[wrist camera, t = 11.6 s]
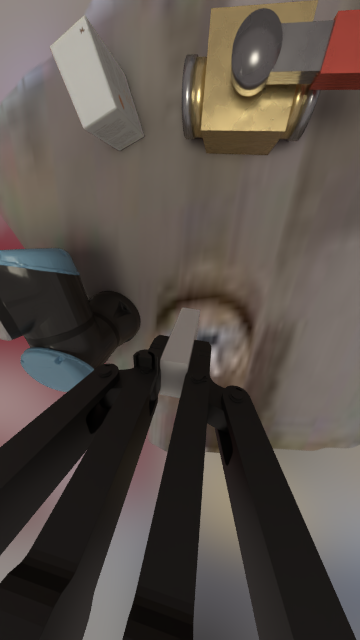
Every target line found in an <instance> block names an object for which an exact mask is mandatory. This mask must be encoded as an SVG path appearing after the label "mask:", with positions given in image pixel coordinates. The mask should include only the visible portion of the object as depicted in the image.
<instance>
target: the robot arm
mask: <svg viewBox="0 0 360 640" xmlns="http://www.w3.org/2000/svg"><path fill="white" fill-rule="evenodd" d="M79 275H80V274H79V272H78V271H77V269H76V267H75V265H74V263H73V260H72V258H71V256H70V255H69V253H68V252H66V251H65V250H63V249H59V248H41V249H15V250H0V339H3V340H8V341H9V340H13V339H15V338H18V337H20V336H24V337H25V339H26V340H27V342H28V344H29V346H30V348H28V349H27V350H25V351H24V354H22V356H21V365H22V367H23V368H24V370H25V371H26V372H27V373H28V374H29V375H30V376H31V377H32V378H34V379H35V380H36V381H38V382H39V383H41V384H43V385H45V386H47V387H49V388H52V389H55V390H59V391H63V392H67V393H66V394H64V395H63V396H62V397H61V398H60V399H58V400H57V401H56V402H55V403H54V404H52V405H51V406H50V407H49V408H47V409H46V410H45V411H44V412H43V413H41V414H40V415H39V416H38V417H37V418H35V419H34V420H33V421H32V422H30V423H29V424H28V425H27V426H26V427H25V428H23V429H22V430H21V431H20V432H18V433H17V434H16V435H15V436H13V437H12V438H11V439H10V440H9V441H7V442H6V443H5V444H4V445H3V446H1V447H0V555H1V554H2V553H3V551H4V550H5V549H6V548H7V547H8V545H9V544H10V543H11V542H12V541H13V539H14V538H15V537H16V536H17V534H18V533H19V532H20V531H21V530H22V528H23V527H24V526H25V525H26V523H27V522H28V521H29V520H30V519H31V517H32V516H33V515H34V514H35V512H36V511H37V510H38V509H39V508H40V506H41V505H42V504H43V503H44V502H45V500H46V499H47V498H48V497H49V495H50V494H51V493H52V492H53V490H54V489H55V488H56V487H57V486H58V484H59V483H60V482H61V481H62V480H63V478H64V477H65V476H66V475H67V474H68V472H69V471H70V470H71V469H72V467H73V466H74V465H75V464H76V463H77V461H78V460H79V459H80V458H81V456H82V455H83V454H84V453H85V452H86V453H85V455H84V456H83V458H82V460H81V462H80V464H79V465H78V467H77V469H76V470H75V472H74V474H73V476H72V478H71V479H70V481H69V483H68V484H67V486H66V488H65V490H64V492H63V493H62V495H61V497H60V499H59V500H58V502H57V504H56V505H55V507H54V509H53V511H52V513H51V514H50V516H49V518H48V520H47V521H46V523H45V525H44V527H43V528H42V530H41V532H40V534H39V535H38V537H37V539H36V541H35V542H34V544H33V546H32V548H31V549H30V551H29V553H28V554H27V556H26V557H25V558H24V559H23V561H22V562H21V563H20V564H19V565H17V566H16V567H15V568H14V569H13V570H12V571H11V572H9V573H8V574H7V576H6V577H5V578H4V579H3V580H2V582H1V583H0V640H82V639H83V636H84V633H85V630H86V626H87V623H88V619H89V615H90V611H91V606H92V600H93V595H94V591H95V588H96V585H97V581H98V579H99V576H100V573H101V570H102V567H103V564H104V561H105V558H106V555H107V552H108V549H109V546H110V542H111V540H112V537H113V534H114V531H115V528H116V525H117V522H118V519H119V516H120V513H121V510H122V507H123V504H124V501H125V498H126V495H127V492H128V489H129V486H130V483H131V480H132V477H133V474H134V471H135V468H136V465H137V462H138V459H139V456H140V453H141V450H142V447H143V444H144V441H145V438H146V435H147V432H148V430H149V427H150V424H151V421H152V418H153V415H154V412H155V409H156V406H157V403H158V394H159V391H160V394H161V395H166V396H171V397H176V398H180V400H179V405H178V409H177V413H176V418H175V422H174V427H173V431H172V436H171V440H170V444H169V449H168V453H167V458H166V462H165V466H164V471H163V475H162V480H161V484H160V488H159V493H158V498H157V502H156V506H155V510H154V515H153V519H152V524H151V528H150V533H149V537H148V541H147V546H146V550H145V555H144V560H143V563H142V568H141V572H140V577H139V581H138V585H137V590H136V594H135V598H134V601H133V605H132V608H131V611H130V614H129V617H128V621H127V625H126V628H125V632H124V636H123V640H193V617H194V600H195V586H196V570H197V557H198V543H199V528H200V514H201V500H202V485H203V471H204V456H205V442H206V428H207V423H208V424H210V425H211V426H213V427H215V432H216V436H217V441H218V446H219V451H220V455H221V460H222V465H223V470H224V474H225V479H226V483H227V489H228V493H229V498H230V503H231V508H232V512H233V517H234V522H235V526H236V531H237V536H238V541H239V545H240V550H241V555H242V560H243V564H244V569H245V574H246V579H247V583H248V588H249V593H250V598H251V602H252V606H253V612H254V617H255V621H256V626H257V631H258V635H259V640H356V638H355V636H354V633H353V631H352V629H351V627H350V624H349V622H348V620H347V617H346V615H345V613H344V611H343V608H342V606H341V604H340V601H339V599H338V597H337V595H336V592H335V590H334V588H333V585H332V583H331V581H330V579H329V577H328V574H327V572H326V569H325V567H324V565H323V563H322V560H321V558H320V556H319V553H318V551H317V549H316V547H315V544H314V542H313V540H312V538H311V535H310V533H309V531H308V529H307V526H306V524H305V522H304V519H303V517H302V515H301V513H300V510H299V508H298V506H297V504H296V501H295V499H294V496H293V494H292V492H291V490H290V487H289V486H288V483H287V480H286V478H285V476H284V474H283V472H282V469H281V467H280V465H279V462H278V460H277V458H276V455H275V453H274V451H273V448H272V446H271V444H270V442H269V439H268V437H267V435H266V433H265V430H264V428H263V426H262V423H261V421H260V419H259V417H258V414H257V412H256V410H255V407H254V405H253V403H252V401H251V398H250V396H249V395H248V393H247V392H246V391H245V390H244V389H242V388H240V387H238V386H227V387H226V388H223V387H221V386H219V385H217V384H215V383H214V382H213V381H212V379H211V378H210V359H211V345H210V344H209V342H205V341H199V340H196V339H197V332H198V323H199V315H200V310H197V309H189V308H182V309H181V312H180V314H179V316H178V319H177V321H176V323H175V326H174V328H173V330H172V333H171V335H170V336H163V335H159V336H157V337H156V338H154V340H153V342H152V344H151V346H150V348H149V349H148V350H140V351H138V352H136V353H135V354H134V355H133V357H134V368H132V369H126V370H119V369H118V367H117V366H116V365H114V364H104V363H105V362H106V361H107V360H108V358H109V357H110V356H111V354H112V353H113V352H114V350H115V349H116V348H117V347H118V346H120V345H122V344H123V343H125V342H127V341H129V340H131V339H132V338H133V337H134V336H135V334H136V333H137V332H138V330H139V327H140V316H139V313H138V311H137V309H136V307H135V306H134V305H133V303H132V302H131V301H130V300H129V299H127V298H126V297H125V296H123V295H121V294H119V293H116V292H112V291H104V292H100V293H98V294H96V295H95V296H93V297H92V298H91V299H90V300H89V301H88V298H87V296H86V293H85V290H84V288H83V285H82V282H81V279H80V276H79ZM86 450H87V451H86Z"/></svg>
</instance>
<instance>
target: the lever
mask: <svg viewBox="0 0 360 640" xmlns="http://www.w3.org/2000/svg"><path fill="white" fill-rule="evenodd" d="M231 79H232V83H233V86H234V88H235V89H236V91H237V92H238V93H239V94H241V95H243V96H252V95H255V94H257V93H258V92H260V91H261V90H262V89H263V88H264V87H265V86H266V85H267V84H311V85H310V88H309V90H358V89H360V10H346V11H338V13H337V15H336V16H335V18H334V20H331V21H313V22H295V23H281V22H280V19H279V17H278V16H277V14H276V13H275V12H274V11H272V10H271V9H268V8H261V9H258V10H255V11H254V12H252V13H251V14H250V15H249V16H248V17H247V18H246V19H245V20H244V21H243V23H242V24H241V26H240V27H239V29H238V31H237V34H236V36H235V39H234V43H233V48H232V59H231Z"/></svg>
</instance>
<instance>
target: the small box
mask: <svg viewBox="0 0 360 640" xmlns="http://www.w3.org/2000/svg"><path fill="white" fill-rule="evenodd" d="M50 49H51V52H52V54H53V57H54V59H55V62H56V64H57V66H58V69H59V71H60V73H61V76H62V78H63V81H64V83H65V85H66V88H67V90H68V92H69V95H70V97H71V100H72V102H73V104H74V107H75V109H76V112H77V114H78V116H79V119H80V121H81V124H82V126H83V129H84V130H86V131H88V132H89V133H91V134H92V135H94V136H96V137H97V138H99V139H100V140H102V141H104V142H105V143H107V144H109V145H110V146H112V147H114V148H115V149H117V150H118V151H120V150H122V149H124V148H125V147H127V146H129V145H131V144H132V143H134V142H136V141H138V140H139V139H141V138H143V137H144V133H143V130H142V127H141V124H140V120H139V117H138V114H137V111H136V108H135V105H134V101H133V98H132V95H131V92H130V89H129V86H128V82H127V79H126V76H125V73H124V72H123V70H122V69H121V68H120V66H119V64H118V63H117V62H116V60H115V59H114V57H113V56H112V54H111V53H110V51H109V50H108V48H107V47H106V45H105V44H104V43H103V41H102V40H101V38H100V37H99V35H98V34H97V32H96V31H95V29H94V28H93V27H92V25H91V24H90V22H89V21H88V19H87V18H86V16H85V15H84V16H83V17H82V18H81V19H80V20H78V21H77V22H76V23H75V24H74V25H73V26H72V27H71V28H70V29H68V31H66V32H65V33H64V34H63V35H62V36H61V37H60V38H59V39H58V40H57V41H55V42H54V43H53V45H51V46H50Z"/></svg>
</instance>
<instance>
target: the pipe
mask: <svg viewBox="0 0 360 640" xmlns="http://www.w3.org/2000/svg"><path fill="white" fill-rule="evenodd" d="M197 57H198V55H197V54H193V55H187V56H186V58H185V63H184V70H183V83H182V120H183V131H184V136H185V138H186V139H195V138H194V137H193V133H192V120H191V102H192V82H193V72H194V65H195V60H196V58H197ZM319 93H320V90H309V91H308V95H307V98H306V101H305V104H304V107H303V110H302V112H301V115H300V118H299V120H298V123H297V125H296V127H295V129H294V132H293V133H292V135H291V137H290V138H289V139H286V140H287V141H298V140H299V139H300V137H301V136H302V134H303V132H304V130H305V128H306V126H307V124H308V122H309V120H310V117H311V115H312V113H313V110H314V107H315V105H316V102H317V99H318V96H319Z"/></svg>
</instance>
